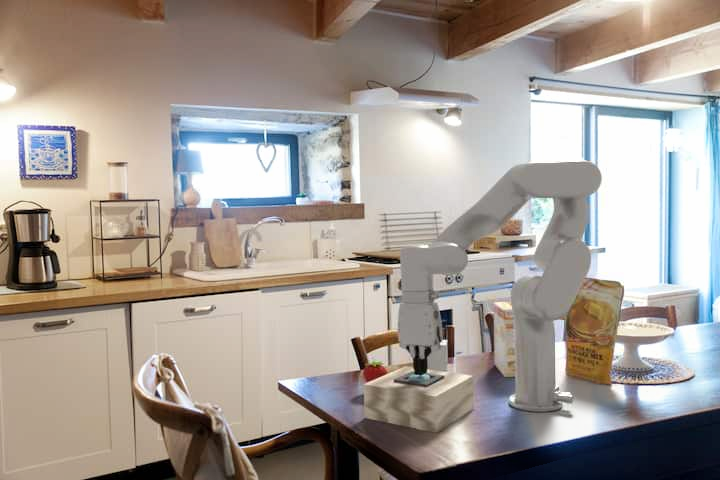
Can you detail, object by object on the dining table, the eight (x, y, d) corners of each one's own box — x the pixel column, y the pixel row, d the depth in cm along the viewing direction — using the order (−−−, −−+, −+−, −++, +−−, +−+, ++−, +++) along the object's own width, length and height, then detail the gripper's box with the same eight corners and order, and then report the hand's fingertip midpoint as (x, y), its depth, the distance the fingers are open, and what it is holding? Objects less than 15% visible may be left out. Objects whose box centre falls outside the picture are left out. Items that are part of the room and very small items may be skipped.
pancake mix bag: (572, 368, 184) (571, 274, 182) (627, 384, 167) (626, 280, 165) (555, 372, 181) (554, 276, 179) (609, 388, 164) (608, 282, 162)
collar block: (473, 408, 150) (473, 373, 150) (436, 432, 135) (435, 393, 134) (406, 396, 161) (405, 363, 161) (364, 417, 146) (363, 381, 145)
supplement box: (447, 392, 164) (446, 345, 163) (419, 391, 165) (418, 344, 165) (448, 384, 171) (447, 339, 171) (421, 383, 173) (420, 338, 172)
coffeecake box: (529, 377, 176) (528, 308, 175) (504, 377, 177) (502, 309, 176) (517, 363, 191) (516, 301, 190) (493, 364, 192) (492, 301, 191)
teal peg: (434, 404, 148) (433, 375, 148) (423, 410, 144) (423, 380, 144) (416, 401, 151) (415, 373, 151) (405, 407, 147) (404, 377, 147)
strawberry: (373, 398, 160) (372, 360, 160) (359, 391, 167) (358, 355, 166) (393, 395, 163) (392, 357, 163) (378, 388, 170) (377, 351, 169)
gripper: (453, 296, 145) (456, 373, 146) (399, 293, 154) (402, 366, 155) (438, 301, 139) (441, 381, 140) (382, 298, 148) (385, 374, 149)
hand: (420, 373), depth 148 cm, fingers closed
